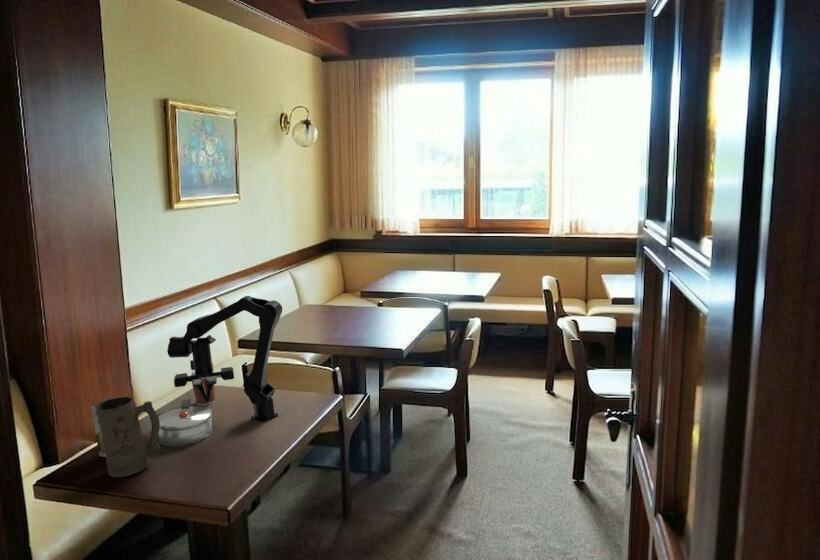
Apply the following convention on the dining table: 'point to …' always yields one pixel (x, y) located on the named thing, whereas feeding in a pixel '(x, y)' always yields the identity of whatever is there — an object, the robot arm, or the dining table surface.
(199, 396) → the coffee cup
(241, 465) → the dining table surface
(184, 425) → the cooker lid
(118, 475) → the beer stein
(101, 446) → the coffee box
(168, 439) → the cooker pot
